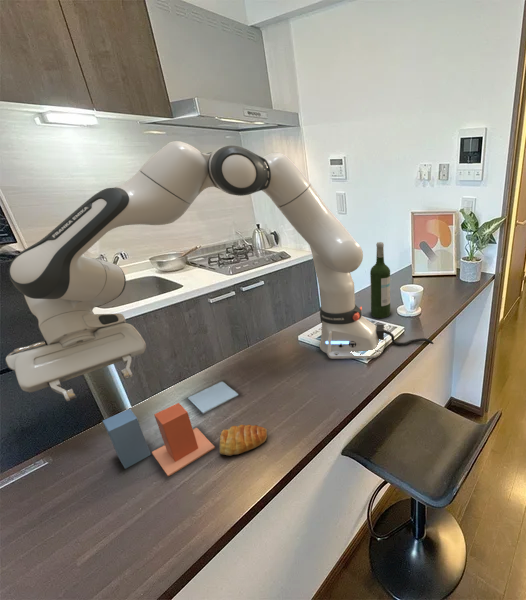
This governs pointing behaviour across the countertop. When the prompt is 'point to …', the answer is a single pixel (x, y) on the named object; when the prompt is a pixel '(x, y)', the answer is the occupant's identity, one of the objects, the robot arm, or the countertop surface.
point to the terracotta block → (176, 431)
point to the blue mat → (212, 397)
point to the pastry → (241, 439)
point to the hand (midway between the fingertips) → (101, 387)
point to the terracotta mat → (172, 466)
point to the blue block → (127, 438)
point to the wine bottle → (380, 285)
